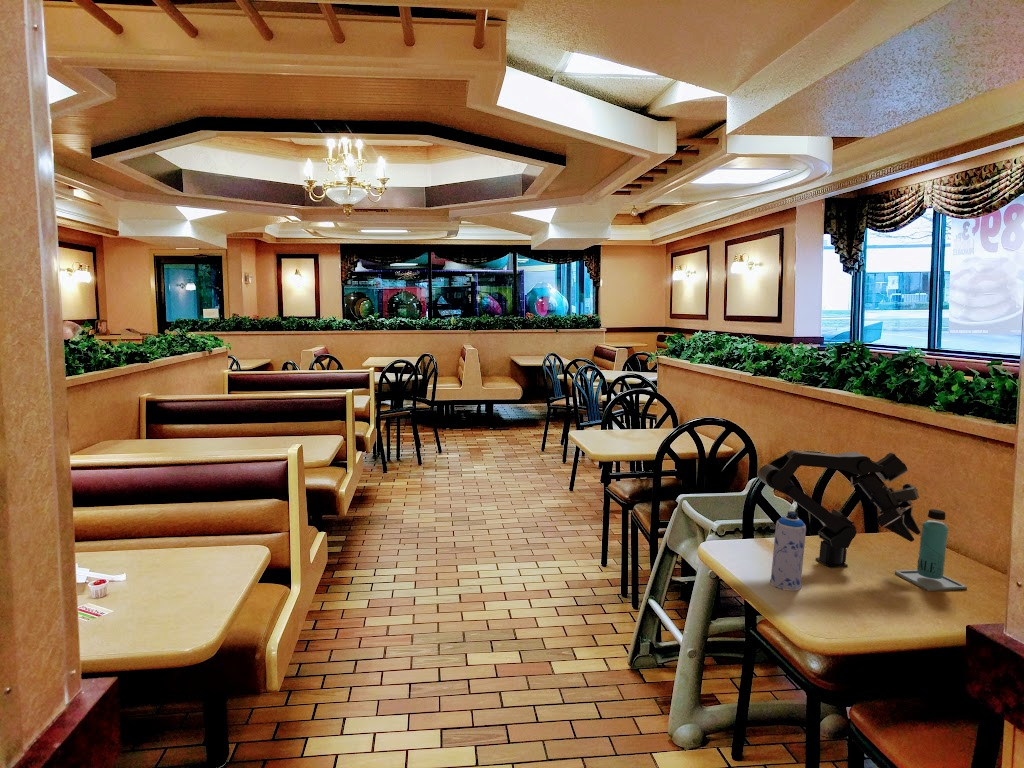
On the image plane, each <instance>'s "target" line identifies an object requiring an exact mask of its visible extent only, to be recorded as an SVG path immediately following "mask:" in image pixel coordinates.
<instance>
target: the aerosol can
mask: <svg viewBox="0 0 1024 768" xmlns="http://www.w3.org/2000/svg"><path fill="white" fill-rule="evenodd" d="M806 526H807V525H806V524H805V523H804V521H803V520H802V519H800V518H799V517H798V515H797V511H792V510H791V511H787V515H784V516H781V517H779V519H778V520H776V523H775V530H774V542H773V543H774V544H773V554H772V563H771V564H772V565H771V575H770V580H769V584H770V585H772V586H773V587H775V588H777V589H780V590H783V591H791V592H796V591H799V590H801V589H802V584H801V583H802V575H803V573H802V572H803V565H804V564H803V562H804V552H805V546H806V545H805V544H806V534H807V527H806Z"/></svg>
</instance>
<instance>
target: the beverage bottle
mask: <svg viewBox="0 0 1024 768" xmlns="http://www.w3.org/2000/svg"><path fill="white" fill-rule="evenodd" d="M927 518H930V519H932V520H929V519H928V520H925V522H923V523H922V524H921V525H922V529H921V530H920V532H921V533H920V538H919V539H920V540H919V541H920V542H919V550H918V559H917V565H916V566H917V567H916V570H917V572H918V574H920V575H922V576H924V577H927V578H932V579H941V578H942V577H943V575H944V573H945V570H944V569H945V563H946V552H947V551H946V550H947V549H946V548H947V542H948V533H949V530H950V529H949V527H948V526H947V525H946V524H945V523H944V522H942V521H945V520H946V512H945V511H943V510H941V509H934V508H932V509H930V508H929V510H928V514H927Z"/></svg>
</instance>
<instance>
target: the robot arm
mask: <svg viewBox="0 0 1024 768" xmlns="http://www.w3.org/2000/svg"><path fill="white" fill-rule="evenodd" d="M802 466H803V467H812V468H813V467H814V468H824V469H835V470H839V471H840V470H841V471H844V472H847V473H850V474H854V475H857V476H854V475H852V476H851V477H850V484H849V486H850V487H851V488H852V487H854V486H856V485H858V486H859V487H860V489H862V491H863V492H864V493H865V494H866V496H867V497H868V498H869V500H868V501H869V502H870V503H871V504H874V505H875V506H876V507H877V509H878V510H879V515H878V516H877V517H876V522H877V524H878V525H879V526H880V527H881V528H882V527H883V529H886V530H889V531H891V532H892V533H894V534H896V535H898V536H899V537H901V538H904V539H905V540H907V541H909V542H914V541H915V538H914V536H913V534H912V533H911V532H913V533H915V535H921V534H922V532H921V530H920V528H919V526H918V524H917V522H916V520H915V518H914V516H913V509H914V506H913V504H914V503H913V501H916V500H918V499H919V498H920V495H919V493H918V492H919V490H918V488H917V487H916V486H913V485H912V484H911V483H905V484H903V485H902V488H900V489H897V490H895V489H893V487H891V486H889V487H888V486H887V485H886V483H885V481H887V482H889V483H891V482H892V481H894V480H896V479H897V478H899V477H901V476H903V474H905V473H907V472H908V466H907V465H906V464H905V462H903V461H902V460H901V459H900V458H899V457H897V455H896V453H893V452H889V453H887V454H886V455H885V456H883V457H882V458H881V459H879V460H878V461H874V460H871V458H870V457H868V456H866V455H864V454H862V453H859V452H857V451H851V452H850V451H849V452H847V451H846V452H841V453H837V454H833V453H822V452H821V453H820V452H810V451H801V450H800V451H799V450H795V449H791V450H789V451H787V452H786V453H784V454H783V455H781V456H780V457H777V458H776V459H774V460H772V461H771V462H769V463H768V464H765V465H763V466H762V467H761V468H760V469H759V471H758V479H759V480H760V481H761V482H762V483H764V484H765V485H766V486H768V487H769V488H772V489H773V490H775V491H777V492H779V493H781V494H784V495H785V496H787V497H788V498H790V499H791V500H792V501H794V502H795V503H796V504H798V505H799V506H800V507H801V508H803V509H805V510H806V511H807V512H808V513H810V515H811V514H812V516H813V517H815V518H816V519H818V521H819V522H820V523H821V524H822V526H823V527H822V528H820V529H818V531H817V533H818V538H819V539H821V541H820V543H819V544H820V545H819V546H820V547H819V556H818V557H815V560H816V561H818V562H819V563H821V564H823V565H825V566H826V567H829V568H845V567H848V566H849V564H847V563H846V560H847V551H848V550H847V549H849V547H850V545H851V543H852V542H853V539H855V537H856V535H857V527H856V525H854V523H855V521H853V520H851V519H850V518H848V517H847V516H845V514H843V513H842V512H840V511H838V510H837V509H836V508H832V510H831V511H830V510H828V509H826V508H825V507H824V506H823V505H821V504H820V503H819V502H817V501H816V500H815V499H813V498H812V497H810V496H809V495H808V494H806V493H805V492H804V491H803V490H801V489H800V488H799V487H798V486H796V485H795V484H794V482H793V481H792V479H791V478H792V476H793V475H794V474H795V473H796V471H797V470H798V469H799V468H800V467H802Z"/></svg>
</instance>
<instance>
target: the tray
mask: <svg viewBox="0 0 1024 768" xmlns="http://www.w3.org/2000/svg"><path fill="white" fill-rule="evenodd" d="M894 574H895V575H896V576H898V577H901V578H902V579H904V580H906V581H908V582H910V583H912V584H913V585H916V586H917V587H920V588H921V589H922V590H924V591H927V592H940V591H941V592H944V591H966V590H968V586H967V585H965V584H963V583H961V582H959V581H957V580H955V579H953V578H950V577H949V576H946V575H944V574H943V577H942V578H941V579H932V578H927V577H924V576H922V575H920V574H918V572H917V569H910V570H909V569H905V570H904V569H903V570H895V571H894Z"/></svg>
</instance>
